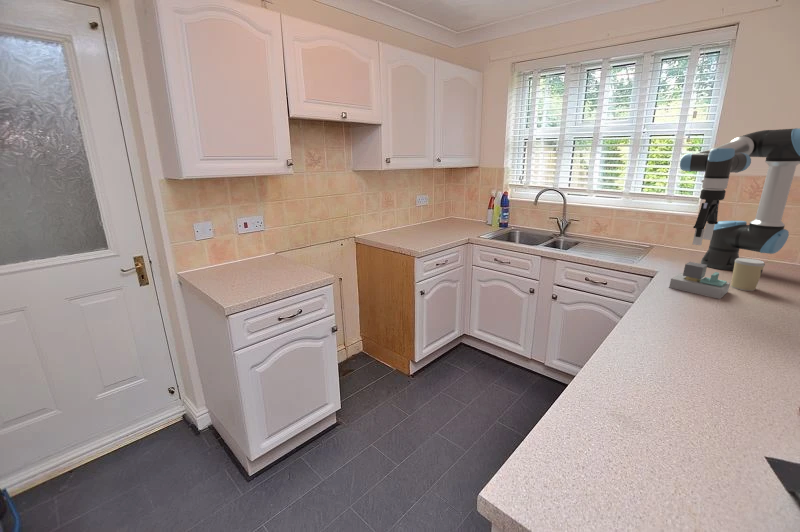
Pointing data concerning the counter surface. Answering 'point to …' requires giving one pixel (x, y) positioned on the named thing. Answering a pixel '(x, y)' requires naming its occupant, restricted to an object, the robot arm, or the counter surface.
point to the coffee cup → (746, 273)
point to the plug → (694, 271)
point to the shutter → (713, 280)
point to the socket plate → (698, 287)
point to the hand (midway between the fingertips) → (702, 242)
